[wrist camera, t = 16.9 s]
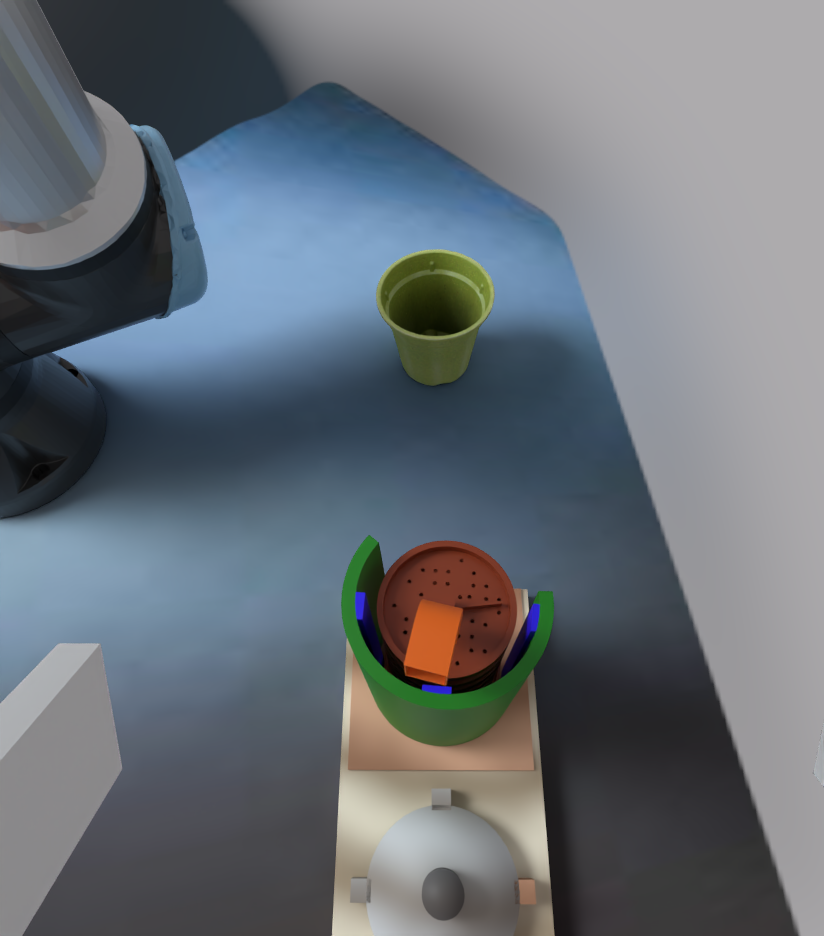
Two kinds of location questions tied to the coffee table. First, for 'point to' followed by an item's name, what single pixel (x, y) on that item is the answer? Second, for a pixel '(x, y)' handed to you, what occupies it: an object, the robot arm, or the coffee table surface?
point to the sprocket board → (441, 824)
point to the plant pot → (435, 311)
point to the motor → (440, 638)
